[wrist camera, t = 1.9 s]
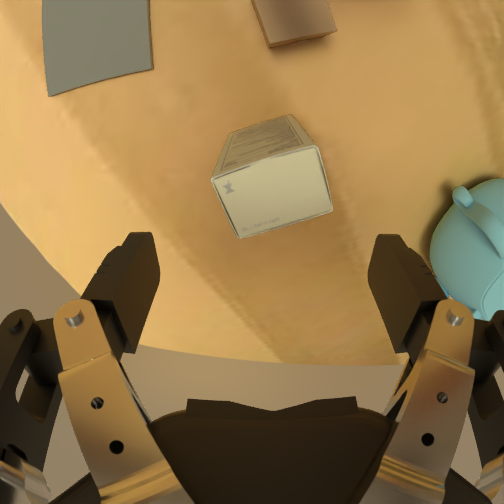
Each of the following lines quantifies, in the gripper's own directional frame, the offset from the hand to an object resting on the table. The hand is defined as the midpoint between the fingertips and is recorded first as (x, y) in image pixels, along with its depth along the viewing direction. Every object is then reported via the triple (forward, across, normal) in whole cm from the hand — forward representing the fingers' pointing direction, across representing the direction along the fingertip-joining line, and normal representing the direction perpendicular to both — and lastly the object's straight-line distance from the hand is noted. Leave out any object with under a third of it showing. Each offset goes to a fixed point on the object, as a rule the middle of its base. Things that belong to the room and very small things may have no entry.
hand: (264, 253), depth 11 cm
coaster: (+19, +16, -13) cm, 28 cm away
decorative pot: (+19, -27, +9) cm, 34 cm away
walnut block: (+19, -2, -11) cm, 22 cm away
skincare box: (+19, -1, +1) cm, 19 cm away
